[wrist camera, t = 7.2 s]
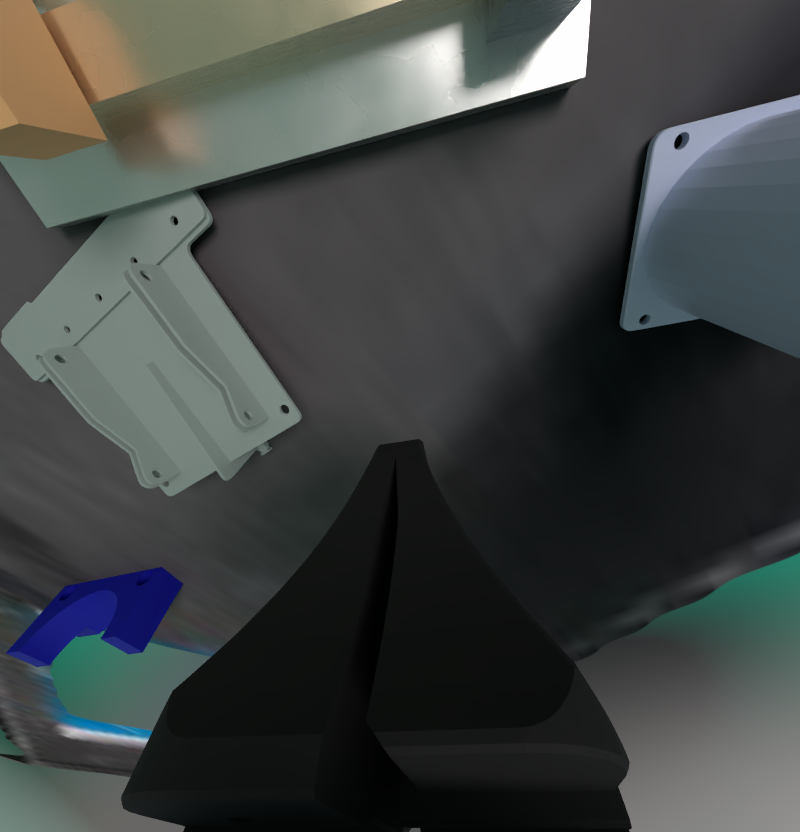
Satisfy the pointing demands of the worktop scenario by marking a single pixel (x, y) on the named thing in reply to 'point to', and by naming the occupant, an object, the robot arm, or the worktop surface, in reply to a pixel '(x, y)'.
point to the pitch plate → (278, 85)
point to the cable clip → (100, 615)
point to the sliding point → (38, 91)
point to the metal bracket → (153, 349)
